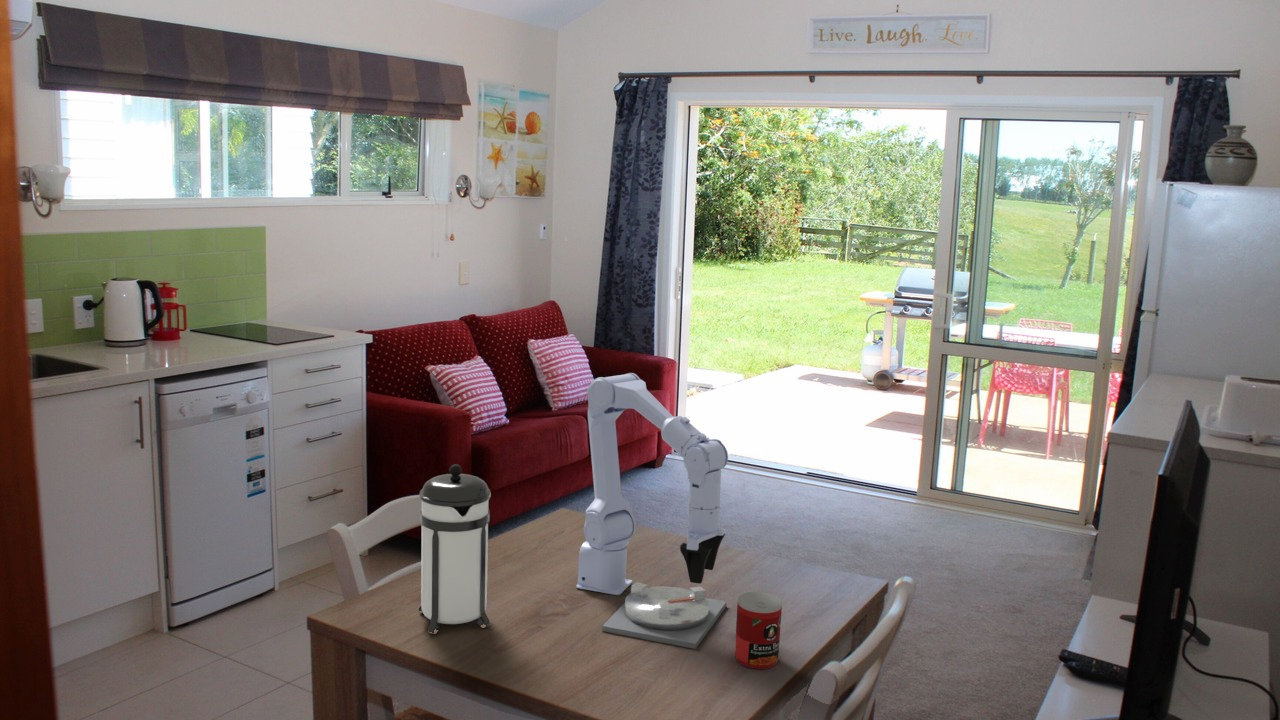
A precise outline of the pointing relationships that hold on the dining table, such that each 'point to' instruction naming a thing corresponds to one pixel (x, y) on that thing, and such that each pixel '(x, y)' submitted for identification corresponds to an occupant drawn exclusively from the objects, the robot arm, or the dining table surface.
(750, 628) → the canned food
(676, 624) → the round dial
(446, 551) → the coffee press
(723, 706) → the dining table surface
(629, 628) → the slate base plate
